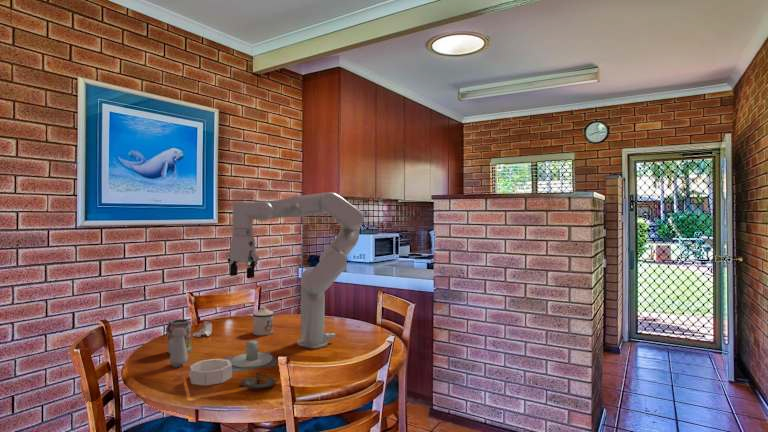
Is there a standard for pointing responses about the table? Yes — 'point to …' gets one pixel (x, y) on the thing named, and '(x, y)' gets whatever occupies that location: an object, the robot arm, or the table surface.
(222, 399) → the table surface
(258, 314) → the teacup with lid
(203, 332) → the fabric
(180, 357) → the salt shaker
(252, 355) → the cover
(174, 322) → the grey jar
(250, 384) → the lid
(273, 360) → the mat
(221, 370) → the bowl
